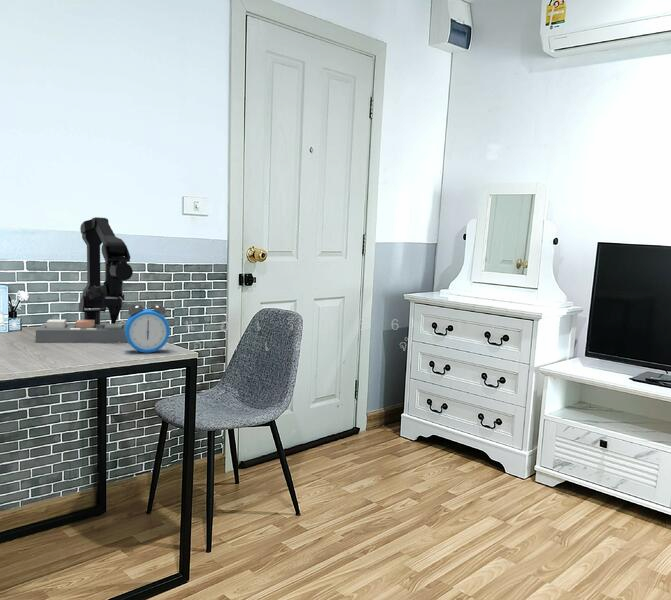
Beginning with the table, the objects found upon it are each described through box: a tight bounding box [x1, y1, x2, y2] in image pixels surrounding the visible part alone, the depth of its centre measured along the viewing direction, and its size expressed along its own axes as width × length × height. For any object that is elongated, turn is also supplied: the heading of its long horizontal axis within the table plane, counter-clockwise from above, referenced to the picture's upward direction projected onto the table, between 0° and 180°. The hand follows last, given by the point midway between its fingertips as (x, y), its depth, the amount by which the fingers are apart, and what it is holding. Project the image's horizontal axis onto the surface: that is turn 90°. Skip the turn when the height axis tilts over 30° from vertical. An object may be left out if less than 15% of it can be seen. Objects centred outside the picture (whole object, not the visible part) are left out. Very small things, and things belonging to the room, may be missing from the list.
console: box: [35, 323, 128, 344], centre depth 209 cm, size 13×28×4 cm, turn 106°
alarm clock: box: [124, 303, 171, 354], centre depth 192 cm, size 13×6×15 cm, turn 112°
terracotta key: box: [75, 319, 95, 328], centre depth 210 cm, size 5×5×4 cm
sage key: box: [104, 323, 123, 328], centre depth 213 cm, size 5×5×4 cm
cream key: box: [45, 319, 67, 328], centre depth 207 cm, size 5×5×4 cm
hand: (113, 323), depth 212 cm, fingers closed
